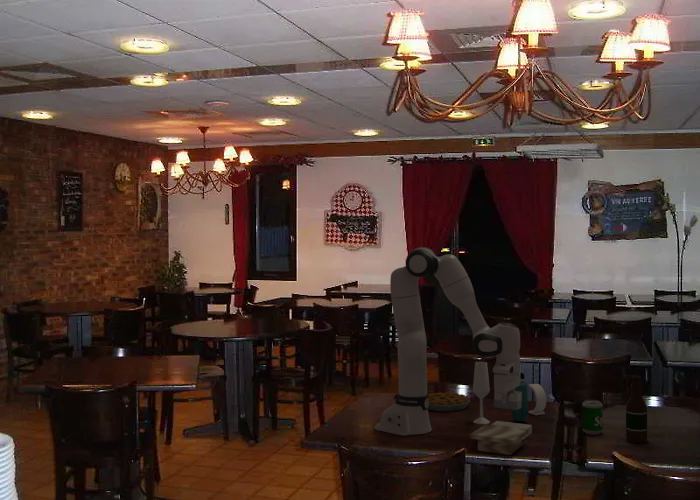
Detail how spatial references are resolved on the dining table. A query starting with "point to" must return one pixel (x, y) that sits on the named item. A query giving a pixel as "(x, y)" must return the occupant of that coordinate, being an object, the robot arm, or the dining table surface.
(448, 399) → the pie
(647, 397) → the dining table surface
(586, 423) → the soda can
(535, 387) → the headphone stand
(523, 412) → the beverage bottle
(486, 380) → the champagne flute
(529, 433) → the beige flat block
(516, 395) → the block
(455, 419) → the dining table surface
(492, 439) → the serving riser
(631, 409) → the beer bottle
